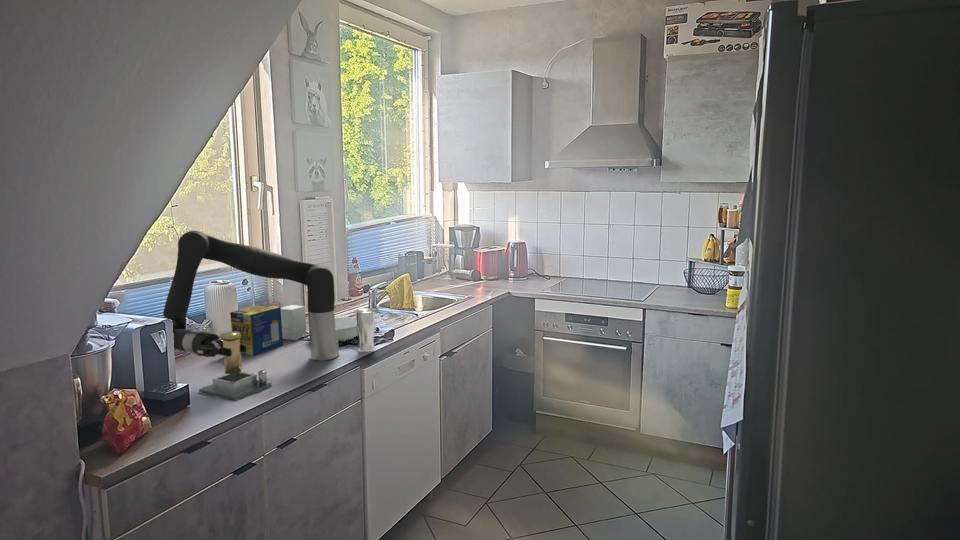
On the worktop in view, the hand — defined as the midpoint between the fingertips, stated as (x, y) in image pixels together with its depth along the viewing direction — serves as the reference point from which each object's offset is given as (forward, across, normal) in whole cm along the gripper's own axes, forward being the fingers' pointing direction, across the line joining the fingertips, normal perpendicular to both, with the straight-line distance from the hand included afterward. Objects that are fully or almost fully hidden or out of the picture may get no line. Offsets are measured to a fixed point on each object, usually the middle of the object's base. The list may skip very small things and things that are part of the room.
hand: (237, 350), depth 196 cm
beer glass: (+7, +52, +13) cm, 54 cm away
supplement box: (-31, +53, +13) cm, 63 cm away
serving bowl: (-13, +59, +13) cm, 62 cm away
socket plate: (-2, 0, +13) cm, 13 cm away
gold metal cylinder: (-3, 0, +7) cm, 7 cm away
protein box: (-31, +35, +13) cm, 49 cm away
